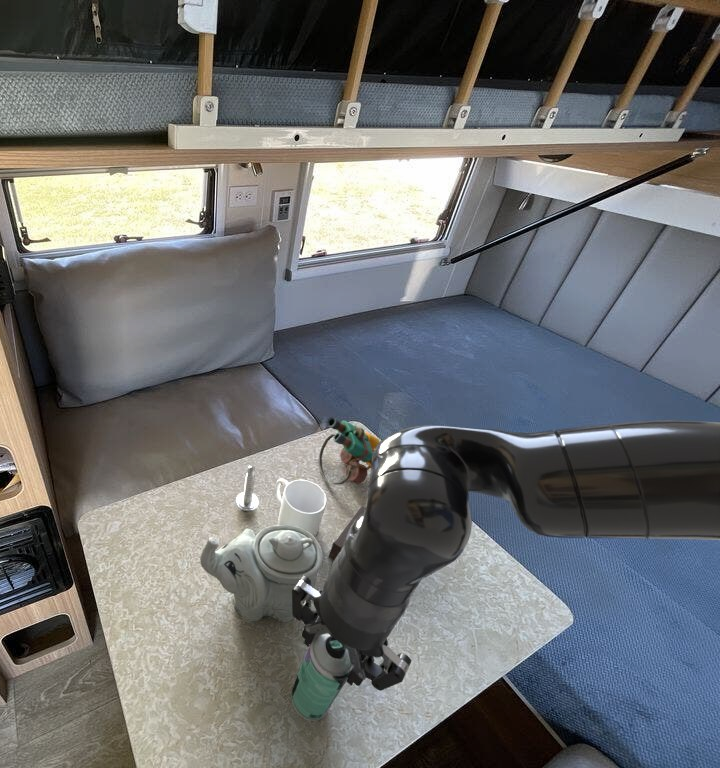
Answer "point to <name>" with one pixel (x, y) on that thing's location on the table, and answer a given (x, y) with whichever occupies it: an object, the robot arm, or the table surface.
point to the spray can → (320, 677)
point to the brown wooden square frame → (344, 535)
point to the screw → (248, 493)
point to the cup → (301, 504)
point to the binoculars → (351, 449)
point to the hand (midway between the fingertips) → (330, 657)
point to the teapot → (264, 568)
